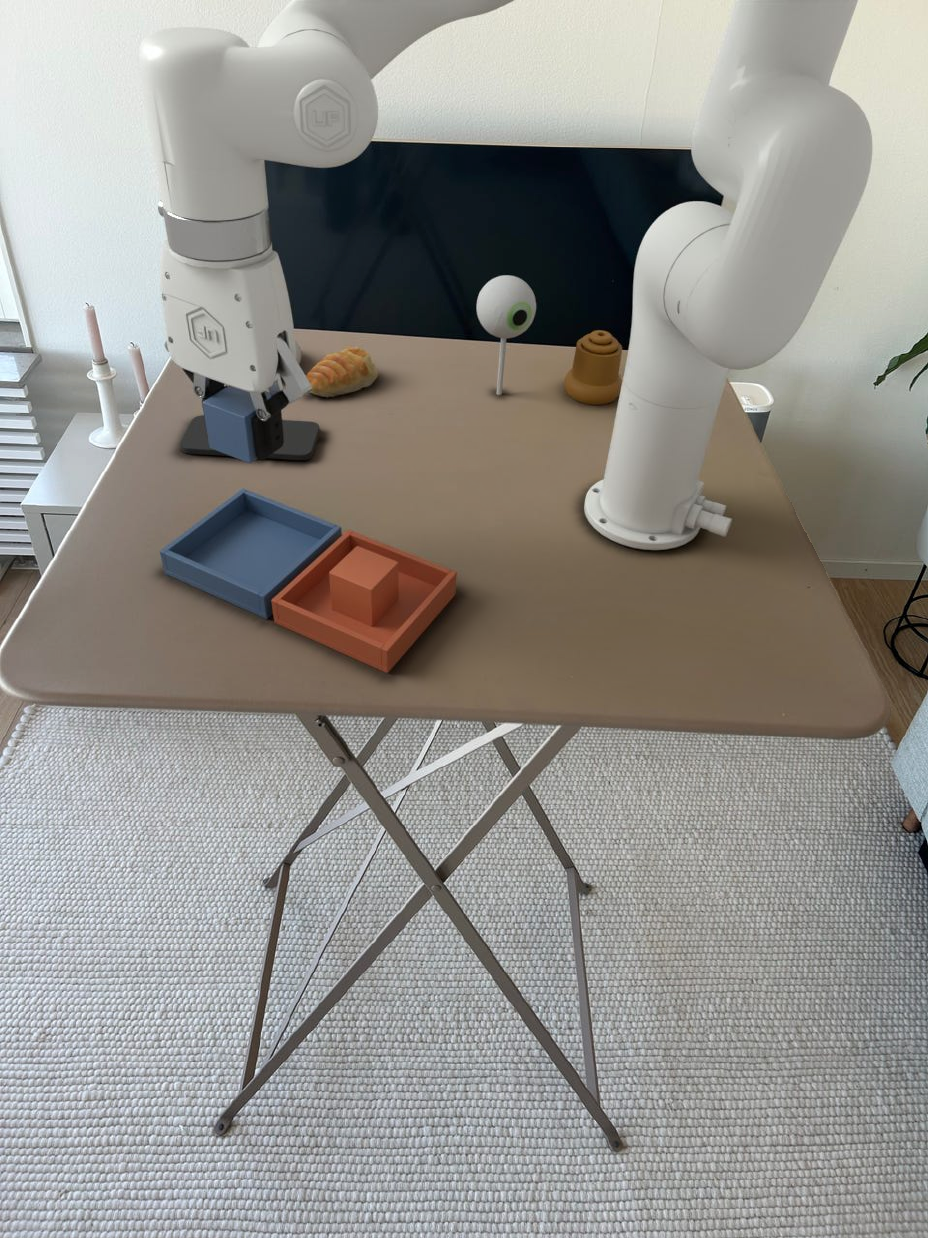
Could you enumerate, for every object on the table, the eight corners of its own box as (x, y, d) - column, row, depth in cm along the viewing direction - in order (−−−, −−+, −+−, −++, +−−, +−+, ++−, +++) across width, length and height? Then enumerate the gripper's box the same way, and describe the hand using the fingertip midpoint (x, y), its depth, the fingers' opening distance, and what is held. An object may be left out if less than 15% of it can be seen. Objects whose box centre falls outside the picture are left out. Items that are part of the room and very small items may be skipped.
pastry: (328, 407, 108) (326, 379, 106) (291, 388, 112) (289, 360, 109) (382, 381, 114) (381, 353, 111) (345, 363, 117) (344, 336, 114)
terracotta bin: (455, 594, 84) (457, 572, 83) (387, 673, 76) (387, 651, 74) (349, 551, 88) (348, 529, 86) (273, 622, 80) (271, 600, 78)
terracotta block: (398, 598, 83) (398, 561, 80) (372, 627, 80) (371, 589, 77) (358, 582, 84) (357, 545, 81) (331, 609, 81) (328, 572, 78)
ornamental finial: (622, 383, 117) (617, 411, 111) (567, 375, 118) (559, 402, 112) (633, 325, 111) (628, 351, 106) (575, 317, 112) (567, 342, 107)
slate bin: (342, 548, 89) (341, 526, 87) (266, 619, 81) (263, 596, 79) (246, 510, 92) (242, 487, 91) (164, 573, 84) (159, 551, 83)
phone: (194, 414, 104) (321, 421, 104) (195, 420, 105) (321, 427, 105) (176, 448, 99) (310, 455, 99) (178, 454, 99) (310, 462, 99)
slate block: (282, 440, 79) (278, 395, 75) (250, 464, 76) (244, 417, 72) (242, 425, 80) (236, 380, 77) (209, 448, 77) (201, 401, 74)
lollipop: (488, 411, 110) (496, 293, 99) (461, 386, 114) (467, 270, 104) (536, 401, 112) (550, 284, 102) (509, 376, 117) (519, 262, 107)
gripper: (95, 218, 65) (142, 433, 78) (280, 273, 60) (298, 494, 73) (166, 192, 70) (200, 398, 83) (342, 240, 65) (350, 453, 77)
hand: (246, 441), depth 78 cm, fingers closed on slate block, 4 cm apart
